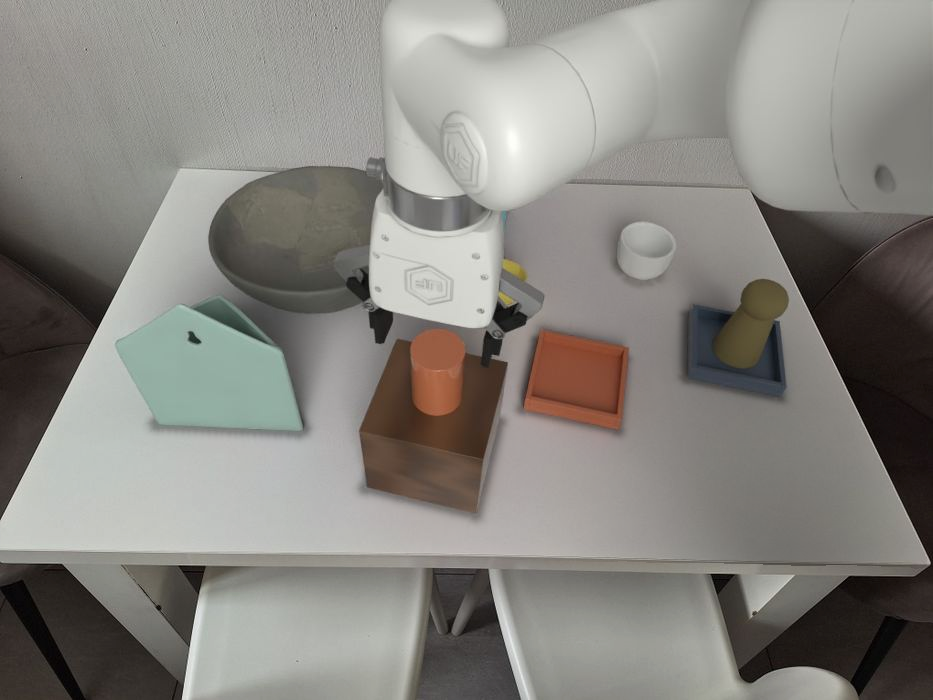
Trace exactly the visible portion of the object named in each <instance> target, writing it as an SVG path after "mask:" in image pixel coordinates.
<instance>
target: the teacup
mask: <svg viewBox="0 0 933 700" xmlns="http://www.w3.org/2000/svg"><path fill="white" fill-rule="evenodd" d="M676 250H677V242H676V239H675V237H674V236H673V234H672V233H671V232H670V231H669V230H668V229H666V228H665V227H663V226H661V225H659V224H657V223H654V222H650V221H643V220H641V219H640V220H637V221H636V222H631V223H630V224H627V225H626V226H625V227H623V229H622V231H621V232H620V235H619V238H618V242H617V248H616V260H617V263H618V266H619V268H620V269H621V271H622V272H623V273H624V274H626V276H629V278H632V279H635V280H640V281H647V280H653V279H656V278H657V277H659V276H661V275H662V274H663V273H664V272H665V271H666V270H667V269H668V267H669V266H670V263H671V262H672V260H673V258H674V255H675V253H676Z"/></svg>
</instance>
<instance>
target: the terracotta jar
mask: <svg viewBox="0 0 933 700" xmlns="http://www.w3.org/2000/svg"><path fill="white" fill-rule="evenodd" d="M411 342H412V344H411V347H410V360H411V392H412V400H413V403H414V404H415V406H416V407H417V408H418V409H419V410H420V411H422V412H424V413H426V414H429V415H434V416H440V415H445V414H448V413H451V412H452V411H454V410H455V409H456V408H457V407H458V406H459V405H460V403H461V400H462V394H463V380H464V366H465V353H466V345H465V342H464V340H463V339H462V338H461V336H459V335H458V334H457V333H455V332H453V331H451V330H448V329H445V328H431V329H427V330H423V331H422V332H420V333H418V334H417V335H416V336H415V337H414V339H413V340H412V341H411Z"/></svg>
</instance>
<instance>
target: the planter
mask: <svg viewBox="0 0 933 700" xmlns="http://www.w3.org/2000/svg"><path fill="white" fill-rule="evenodd" d="M114 347H115V349H116V351H117V353H118V355H119V358H120V359H121V362H122V363H123V364H124V366H125V368H126V370H127V372H128V374H129V375H130V377H131V379H132V380H133V383H134V384H135V386H136V388H137V390H138V391H139V392H140V395H141V396H142V398H143V400H144V402H145V404H146V405H147V407H148V408H149V411H150V412H151V414H152V417H153V418H154V420H155V421H156V423H157V424H159V425H161V426H162V425H165V426H182V427H183V426H185V427H204V428H205V427H206V428H223V429H225V428H227V429H243V430H244V429H245V430H246V429H249V430H268V431H288V432H289V431H291V432H302V431H304V424H303V421H302V417H301V413H300V410H299V404H298V402H297V398H296V394H295V389H294V386H293V383H292V379H291V374H290V372H289V367H288V364H287V361H286V357H285V354H284V350H283V349H282V348H281V347H280V345H278V344H277V343H276V342H275V341H274V340H272V339H271V337H269V336H268V335H267V334H266V333H265V332H264V331H263V330H262V329H261V328H260V327H259V326H258V325H257V324H255V323H254V322H253V320H252V319H250V318H249V317H248V315H246V314H245V313H244V312H243V311H242V310H241V309H240V308H239V307H238V306H237V305H235V304H234V303H233V302H232V301H230V300H229V299H228V298H226V297H225V296H224V295H222V294H217V295H214V296H212V297H210V298H207V299H205V300H203V301H200V302H198V303H196V304H193V305H191V306H189V305H187V304H184V303H177V304H176V305H174V306H172V307H171V308H169V309H168V310H167V311H165V312H164V313H162V314H161V315H159V316H157V317H156V318H154V319H153V320H151V321H149V322H147V323H146V324H144V325H142V326H141V327H139V328H138V329H136V330H134V331H133V332H131V333H129V334H127V335H126V336H123V337H121V338H119V339H117V340H116V341H115V343H114Z"/></svg>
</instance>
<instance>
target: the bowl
mask: <svg viewBox="0 0 933 700" xmlns="http://www.w3.org/2000/svg"><path fill="white" fill-rule="evenodd" d="M382 189H383V185H382V183H381V181H378V180H377V179H376V178H373V177H368V176H367V175H366V170H364V169H360V168H355V167H350V166H335V165H334V166H333V165H307V166H300V167H295V168H291V169H287V170H282V171H279V172H275V173H271V174H269V175H264V176H262V177H260V178H257V179H254V180H252V181H249V182H247V183H245V184H244V185H243V186H242V187H240V188H239V189H238V190H236V191H235V192H233V193H232V194H231V195H229V196H228V197H227V198H225V200H224V201H223V203H222V204H220V206H219V208H218V209H217V210H216V213H215V214H214V215H213V218H212V220H211V222H210V226H209V229H208V230H209V231H208V236H207V239H208V241H207V242H208V249H209V253H210V257H211V258H212V261H213V263H214V264H215V266H216V267H217V269H218V270H219V272H220V273H221V274H222V275H223V277H224V278H225V279H227V280H228V282H230V283H231V285H233V286H234V287H235V288H236V289H238V290H239V291H241V293H244V294H246V295H247V296H249V297H251V298H252V299H254V300H256V301H259V302H261V303H262V304H265V305H267V306H269V307H272V308H276V309H279V310H283V311H286V312H291V313H298V314H329V313H335V312H340V311H343V310H346V309H349V308H352V307H355V306H357V305H359V304H361V303H362V304H363V301H362V300H361V299H359V298H358V297H357V296H356V295H355V294H354V293H353V292H351V291H350V290H349V289H348V288H347V286H346V280H345V279H343V278H342V277H341V275H340V274H339V272H338V271H337V270H336V268H335V267H334V265H333V262H334V260H335V258H336V256H337V254H338V252H339V251H342V250H347V249H352V248H356V247H361V246H366V245H370V237H371V225H372V218H373V211H374V206H375V202H376V198H377V196H378V195H379V194H380V192H381V191H382ZM360 269H362V270H363V271H365V272H366V273H367V274H368V275H369V266H368V267H363V268H360Z"/></svg>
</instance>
